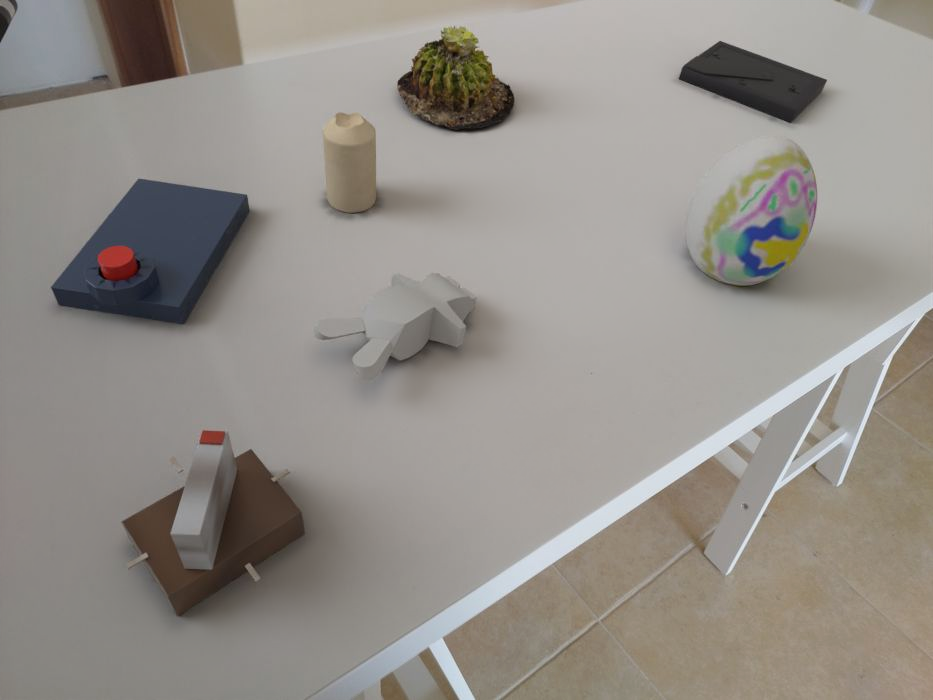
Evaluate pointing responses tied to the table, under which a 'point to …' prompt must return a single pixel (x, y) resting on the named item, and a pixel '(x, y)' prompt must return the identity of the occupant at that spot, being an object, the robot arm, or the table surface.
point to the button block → (156, 251)
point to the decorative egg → (752, 211)
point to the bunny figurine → (404, 321)
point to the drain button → (117, 263)
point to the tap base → (242, 539)
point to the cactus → (455, 84)
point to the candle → (350, 162)
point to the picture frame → (753, 80)
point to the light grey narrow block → (205, 501)
